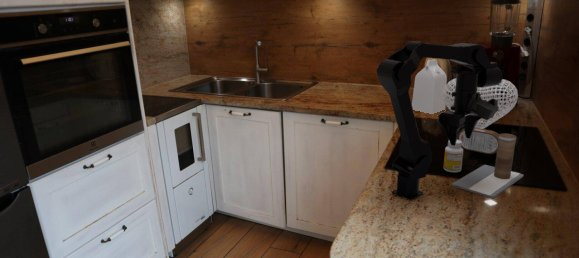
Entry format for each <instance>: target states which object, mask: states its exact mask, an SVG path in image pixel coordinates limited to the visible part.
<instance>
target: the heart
mask: <svg viewBox="0 0 579 258" xmlns="http://www.w3.org/2000/svg"><path fill="white" fill-rule="evenodd" d="M455 87H456V78H453V79H451V80H449V81H448V82H447V83H446V86H445V88H444V91H443V99H444V102H445V104H446V106H445V107H446V108H448V110H449V111H454V110H450V109H451V106H454V97H455V96H452V92H455ZM445 91H446V93H445ZM477 92H479V93H480V94H481V96H480V98H481V99H482V100H487V101H489V100H490V99H495V100H497V101H498V111H497V112H496V113H495V114H494V116H493V118H490V119H489V120H485V119H482V118H481V119H480V120H479V121H478V122H477V124H476V126H475V128H479V129H486V128H487V127H489V126H490V125H492V124H493V123H495V122H496V121H498V120H499V119H501V118H502V117H504V116H506V115H507V114H509V112H510V111H512V110H513V109H514V108H515V106H516V104H517V102H518V99H519V97H518V96H519V94H518V89H517V87H516V86H515V85H514V84H513V83H512V82H511V81H509V80H507V79H503V78H502V81H501V82H500V84H498V85H496V86H489V87H478V88H477ZM501 92H502V93H501ZM449 93H450V94H449ZM501 96H502V97H501ZM501 99H502V100H501Z"/></svg>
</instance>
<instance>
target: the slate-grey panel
mask: <svg viewBox="0 0 579 258" xmlns="http://www.w3.org/2000/svg"><path fill="white" fill-rule="evenodd" d="M494 170H495V166H491V165H487V164H483V165H481V166H480V167H478V168H477V169H475V170H473V171H471V172H469V173H468V174H465V176H462V177H461V178H459V179H457V180H455V181H454V182H452V183H451V186H452V187H454V188H456V189H457V188H458V189H462V190H463V191H467V192H470V193H474V194H476V195H480V196H483V197H487V198H490V199H494V198H496V197H498V196H499V195H500V194H501V193H503V192H504V191H505V190H507V189H508V188H510V187H511V186H512V185H514V184H515V183H516V182H518V181H520V179H521V180H522V178H523V177H524V174H522V173H520V172H517V171H512V170H511V176H510V178H509V179H500V178H497V177H495V176H494Z"/></svg>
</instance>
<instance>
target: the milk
mask: <svg viewBox="0 0 579 258" xmlns="http://www.w3.org/2000/svg"><path fill="white" fill-rule="evenodd" d="M438 64H439V63H438V59H437V58H432V59H429V60H427V61H426V65H425V66H424V68H422V69H421V70H420V71H419V72H417V74H416V75H415V78H414V84H413V92H412V99H411V104H412V108H413V110H415V111H420V112H424V113H429V114H434V113H437V112H440V111H442V110H445V111H446V107H447V106H446V104H445V102H444V99H443V91H444V88H445V86H446V85H447V83H448V82H447V77H448V76H447V73H446V72H445V71H444V70H443V69H442V68H441V67H440V65H438ZM445 93H446V91H445Z"/></svg>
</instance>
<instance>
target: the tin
mask: <svg viewBox="0 0 579 258" xmlns="http://www.w3.org/2000/svg"><path fill="white" fill-rule="evenodd" d="M499 134H500V133H499V132H498V133H497V132H496V131H494V130H490V129H486V128H484V129H479V128H478V127H476V128H474V131H473V133H472V135H471V138H469V139H468V138H466V135H465V130H464V128H462V129H461V130H460V131H459V133H458V137H457V140H460V141H462V145H461V148H462V149H463V150H467V151H470V152H471V151H472V152H476V153H481V154H486V155H493V154H497V148H498V141H499Z"/></svg>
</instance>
